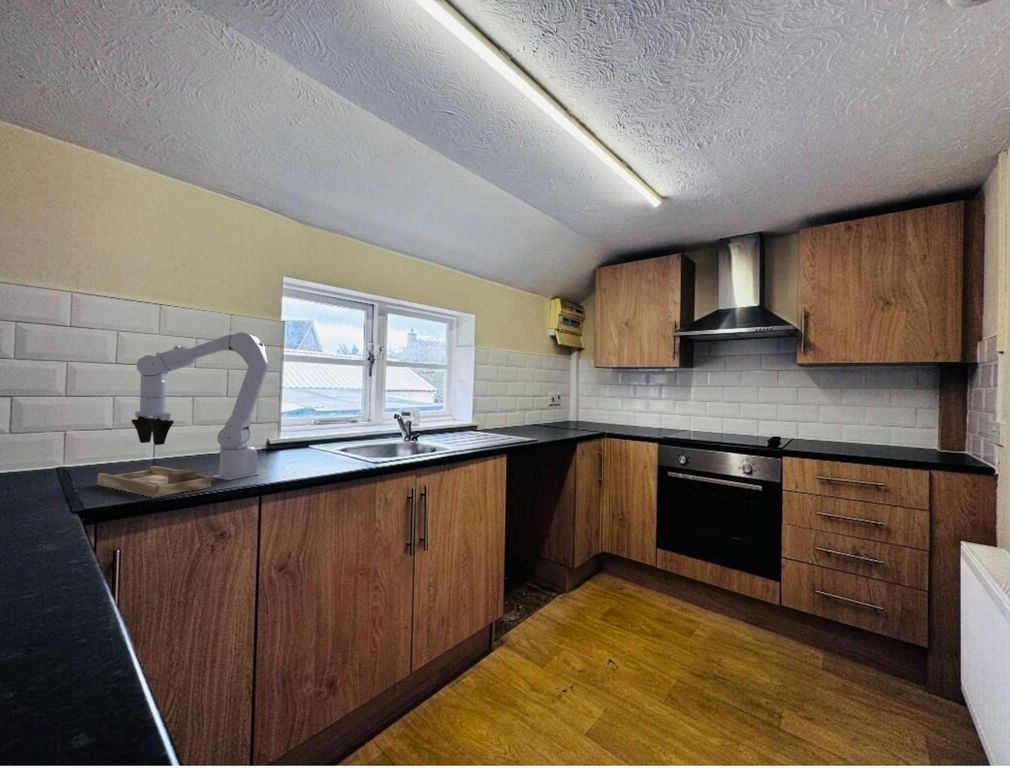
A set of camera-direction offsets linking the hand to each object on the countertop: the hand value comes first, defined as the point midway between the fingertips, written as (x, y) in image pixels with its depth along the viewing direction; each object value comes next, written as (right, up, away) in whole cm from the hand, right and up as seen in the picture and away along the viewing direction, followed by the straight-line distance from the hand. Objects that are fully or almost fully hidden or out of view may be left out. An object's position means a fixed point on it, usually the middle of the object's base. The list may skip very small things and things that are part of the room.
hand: (152, 443), depth 125 cm
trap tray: (+7, -11, -8) cm, 15 cm away
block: (+17, -9, -10) cm, 22 cm away
